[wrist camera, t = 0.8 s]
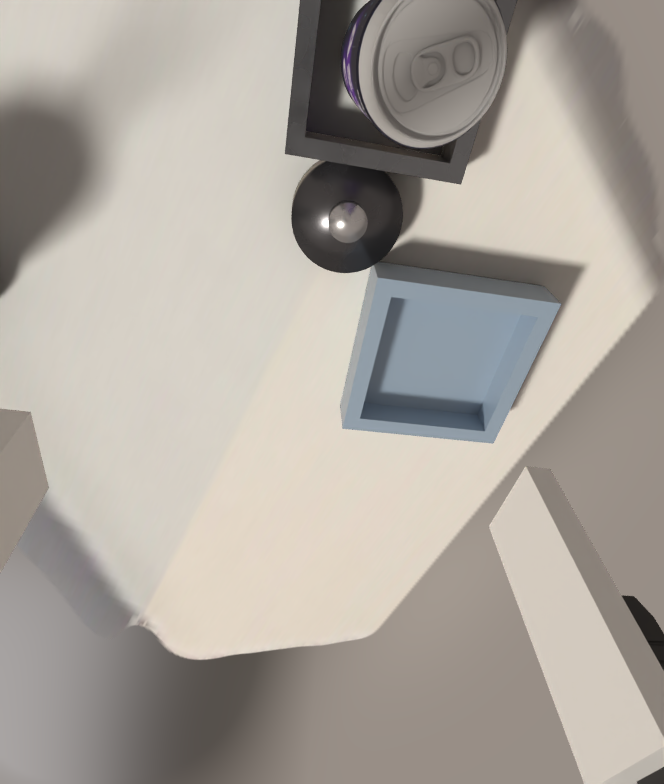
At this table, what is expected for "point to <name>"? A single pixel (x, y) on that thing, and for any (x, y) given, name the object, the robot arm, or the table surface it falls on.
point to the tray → (442, 352)
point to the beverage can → (424, 66)
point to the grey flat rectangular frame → (354, 172)
